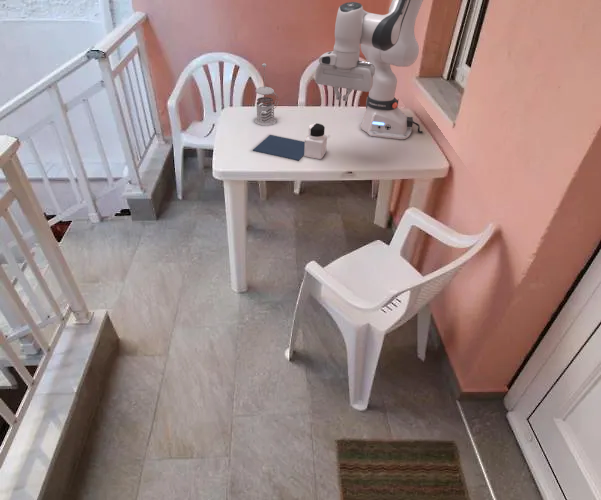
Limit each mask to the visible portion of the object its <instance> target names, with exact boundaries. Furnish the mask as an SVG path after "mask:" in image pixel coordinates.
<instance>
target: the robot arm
mask: <svg viewBox="0 0 601 500" xmlns="http://www.w3.org/2000/svg"><path fill="white" fill-rule="evenodd" d="M423 2H424V0H391V2H390V6H389V8H388V13H386V14H379V13H372V12H370V11H366V10H365V9H364V7H363V5H362V4H361V3H360V2H358V1H351V2H349V1H348V2H344V3H342V4H341V5H339V7H338V9H337V13H336V18H335V24H334V44H333V50H332V51H327V52H324V53H322V55H320V56H319V57H318V64H317V66H316V70H315V76H314V82H315V83H316V84H317V85H322V86H327V87H333V91H334V94H335V100H336V101H341V100H342V101H343V102H348V101H349V97H350V94H351V93H352V92H353V91H358V92H364V93H368V95H367V96H366V101H365V112H364V117H363V119H362V122H361V124H360V129H361V130H362V131H363V132H365V133H367V134H368V136H369V137H375V138H376V137H377V138H386V139H395V140H406V139H408V138H409V137H410V136H411V135H412V128H413V125H415V126H417V132H418V134H423V130H420V129H421V126H420V124H419V123H418V122H415V121H414V117H413V116H407V115H406V114H405V113H404V112H403V111H402V110H401V109H400V108H399V107H398V106H399V98H398V99H397V98H396V92H397V84H398V78H397V76H396V74H395V73H394V72H393V70H392V67H391V66H394V67H402V68H408V67H411V66H412V65H413V64H414V63H415V62H416V60H417V58H418V57H419V54H420V47H419V43H418V41H417V39H416V34H415V25H416V22H417V21H416V20H417V18H418V15H419V12H420V9H421V7H422V4H423ZM361 53H362V55H363V56H364V59H365V60H366V61H363V60H360V55H361ZM340 88H341V89H346V92H347V93H346V94H344V95H343V96H342V93H340V91H339V89H340Z"/></svg>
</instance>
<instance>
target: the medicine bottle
mask: <svg viewBox="0 0 601 500" xmlns="http://www.w3.org/2000/svg"><path fill="white" fill-rule="evenodd" d="M304 142H305V147H304V156H303V157H306V158H310V159H311V158H312V159H317V160H322V159H323V157H324V156H325V154H326V153H327V144H328V135H327V134H325V126H324V124H321V123H311V124H309V126H308V135H307V137H305V139H304Z"/></svg>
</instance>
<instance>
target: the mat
mask: <svg viewBox="0 0 601 500" xmlns="http://www.w3.org/2000/svg"><path fill="white" fill-rule="evenodd" d="M304 147H305V141H302V140H298V139H292V138H289V137H284V136H277V135H274V134H269V135H268V136H267V137H266V138H265V139H263V140H262V141H261V142H260V143H259V144H258V145H256V147H254V148H253V149H252V151H253V152H257V153H261V154H267V155H270V156H276V157H280V158H284V159H288V160H294V161H297V162H299V161H300V160H301V159H302V158H303V157H305V156H304Z"/></svg>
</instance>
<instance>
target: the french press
mask: <svg viewBox="0 0 601 500" xmlns="http://www.w3.org/2000/svg"><path fill="white" fill-rule="evenodd" d="M261 67H262V68H263V79H264V80H263V81H264V84H263V85H264V86H259V87H258V88H256V89H255V93H256V94H258V95H261V96H262V97H261V96H260V97H258V98H257V99H256V101H257V102H256V118H255V120H254V123H255V124H257V125H260V126H273V125H274V124H276V123H277V120H276V119H275V109H276V108H277V107H278V105H279V102H277V101H275V103H274V99H273V98H272V97H273V96H275V97H276V98H279V96H278V95H279V94H277V93H276V92H275V90H274V89H273V88H272V87H270V86H266V72H265V71H266V70H265V69H266V67H267V64H266V62H265V63H262V64H261ZM269 95H271V96H272V97H268V96H269ZM276 103H277V104H276Z"/></svg>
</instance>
